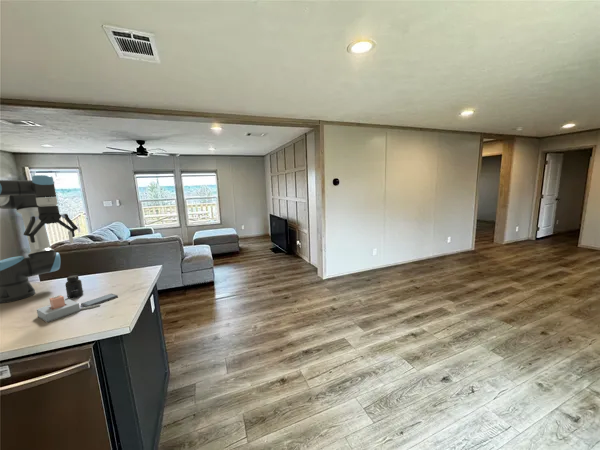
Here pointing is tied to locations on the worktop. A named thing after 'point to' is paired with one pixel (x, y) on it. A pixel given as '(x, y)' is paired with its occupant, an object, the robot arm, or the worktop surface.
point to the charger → (57, 302)
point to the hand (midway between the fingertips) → (55, 245)
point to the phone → (99, 300)
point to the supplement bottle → (74, 287)
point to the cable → (90, 307)
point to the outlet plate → (58, 311)
